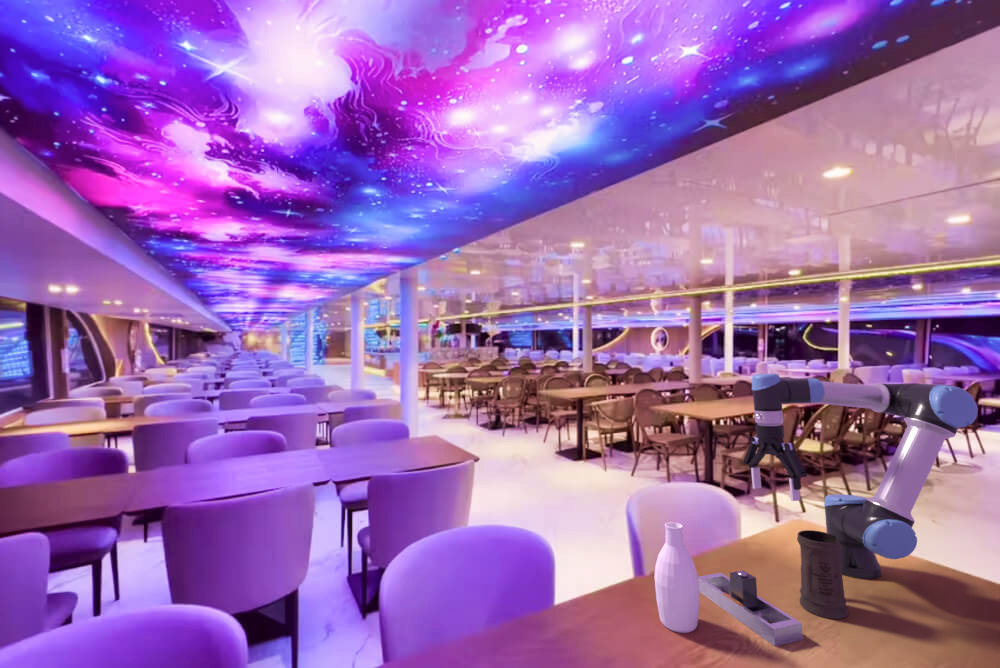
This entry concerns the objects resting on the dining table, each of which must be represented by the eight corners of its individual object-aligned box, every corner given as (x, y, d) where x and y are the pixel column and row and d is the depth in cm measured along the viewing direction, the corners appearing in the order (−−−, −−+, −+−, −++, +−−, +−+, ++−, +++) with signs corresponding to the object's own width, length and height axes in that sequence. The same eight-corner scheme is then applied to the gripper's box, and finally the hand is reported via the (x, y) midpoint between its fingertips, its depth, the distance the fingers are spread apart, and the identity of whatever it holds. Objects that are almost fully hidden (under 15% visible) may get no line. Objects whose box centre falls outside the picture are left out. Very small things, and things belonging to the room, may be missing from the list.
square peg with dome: (745, 607, 125) (743, 568, 125) (758, 615, 121) (755, 575, 121) (731, 609, 124) (729, 570, 124) (744, 618, 119) (742, 578, 120)
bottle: (680, 641, 111) (675, 536, 112) (647, 618, 120) (642, 522, 122) (711, 627, 116) (705, 527, 117) (676, 607, 126) (671, 515, 127)
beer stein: (858, 622, 116) (850, 542, 119) (812, 619, 118) (805, 539, 121) (828, 596, 131) (821, 525, 134) (787, 593, 133) (781, 523, 136)
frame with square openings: (721, 586, 136) (720, 571, 137) (802, 639, 110) (801, 621, 110) (697, 590, 134) (696, 575, 135) (774, 646, 108) (773, 627, 108)
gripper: (728, 420, 149) (733, 485, 148) (796, 430, 125) (803, 507, 124) (746, 418, 151) (752, 482, 150) (817, 428, 127) (824, 504, 126)
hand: (775, 494), depth 137 cm, fingers open, 13 cm apart
